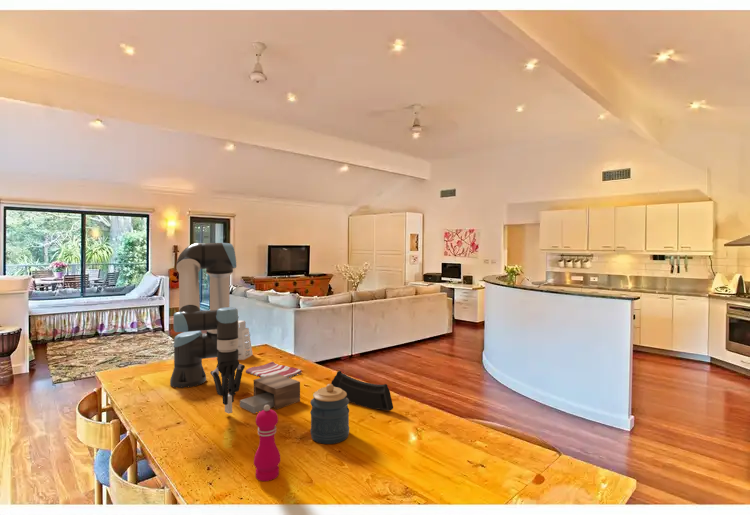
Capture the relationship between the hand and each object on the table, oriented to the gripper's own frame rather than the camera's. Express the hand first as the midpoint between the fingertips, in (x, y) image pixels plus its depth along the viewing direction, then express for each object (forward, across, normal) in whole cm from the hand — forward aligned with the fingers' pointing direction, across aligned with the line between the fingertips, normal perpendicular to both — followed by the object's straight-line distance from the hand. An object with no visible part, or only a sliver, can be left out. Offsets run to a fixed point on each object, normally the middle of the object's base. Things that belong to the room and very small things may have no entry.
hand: (228, 412), depth 159 cm
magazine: (+2, +42, -28) cm, 50 cm away
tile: (+2, +17, 0) cm, 17 cm away
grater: (+2, +46, +70) cm, 84 cm away
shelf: (+2, +21, 0) cm, 21 cm away
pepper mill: (+2, -14, -45) cm, 47 cm away
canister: (+2, +14, -40) cm, 43 cm away
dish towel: (+2, +42, +31) cm, 52 cm away
